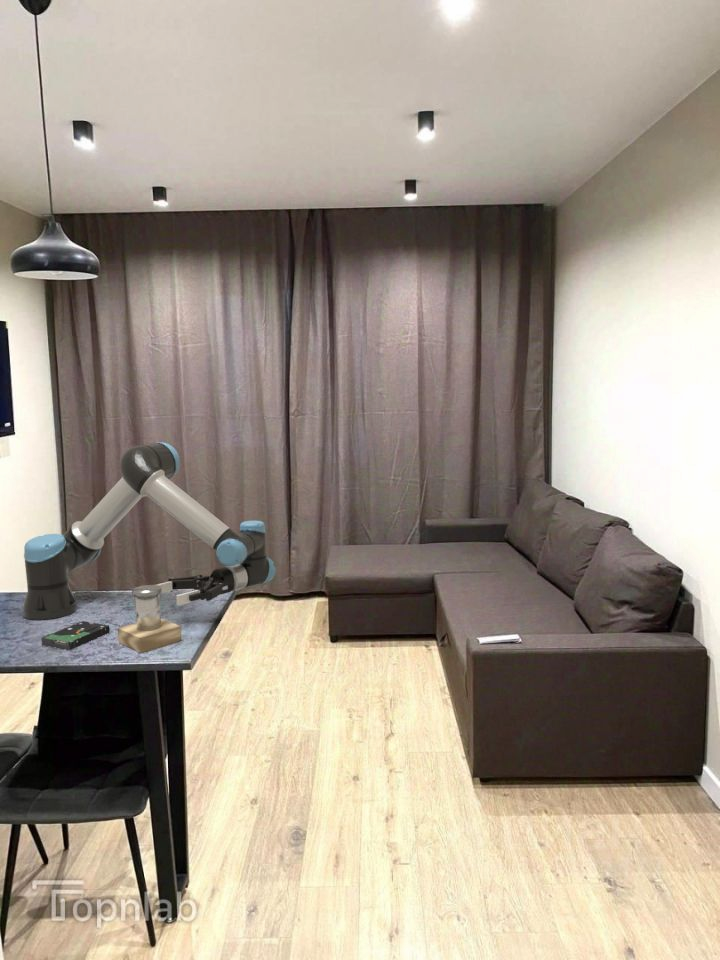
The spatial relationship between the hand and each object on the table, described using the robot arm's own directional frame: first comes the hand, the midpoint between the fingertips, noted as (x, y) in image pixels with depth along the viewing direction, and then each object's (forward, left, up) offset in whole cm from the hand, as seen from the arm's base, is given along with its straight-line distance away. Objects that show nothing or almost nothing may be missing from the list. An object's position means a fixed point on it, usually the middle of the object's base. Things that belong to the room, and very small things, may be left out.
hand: (163, 595), depth 195 cm
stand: (0, -5, -12) cm, 13 cm away
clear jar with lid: (-1, -5, -8) cm, 9 cm away
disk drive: (-18, -17, -12) cm, 28 cm away
